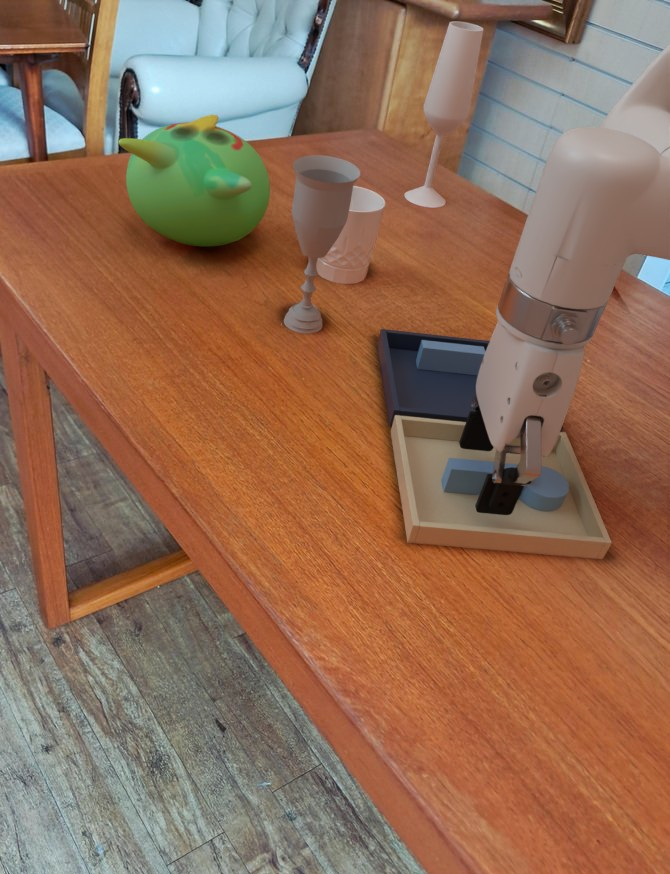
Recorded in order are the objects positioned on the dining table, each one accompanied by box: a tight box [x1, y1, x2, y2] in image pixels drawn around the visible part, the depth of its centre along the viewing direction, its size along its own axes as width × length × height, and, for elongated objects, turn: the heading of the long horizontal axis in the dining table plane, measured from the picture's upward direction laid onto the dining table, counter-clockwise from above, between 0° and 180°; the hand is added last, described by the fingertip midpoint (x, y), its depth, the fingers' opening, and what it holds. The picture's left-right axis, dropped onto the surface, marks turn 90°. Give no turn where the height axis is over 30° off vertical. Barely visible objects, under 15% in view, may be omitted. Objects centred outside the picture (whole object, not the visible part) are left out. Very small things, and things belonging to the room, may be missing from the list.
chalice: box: [280, 154, 361, 334], centre depth 85 cm, size 7×7×18 cm
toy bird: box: [117, 114, 271, 248], centre depth 99 cm, size 18×17×15 cm
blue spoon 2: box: [441, 458, 569, 511], centre depth 72 cm, size 11×4×3 cm, turn 90°
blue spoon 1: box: [416, 340, 485, 376], centre depth 87 cm, size 11×4×3 cm, turn 90°
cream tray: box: [390, 415, 613, 560], centre depth 72 cm, size 17×15×2 cm
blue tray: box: [376, 328, 564, 432], centre depth 84 cm, size 17×15×2 cm
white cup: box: [316, 185, 387, 285], centre depth 98 cm, size 8×8×10 cm
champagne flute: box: [403, 20, 484, 209], centre depth 116 cm, size 7×7×24 cm
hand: (483, 477), depth 72 cm, fingers open, 8 cm apart
